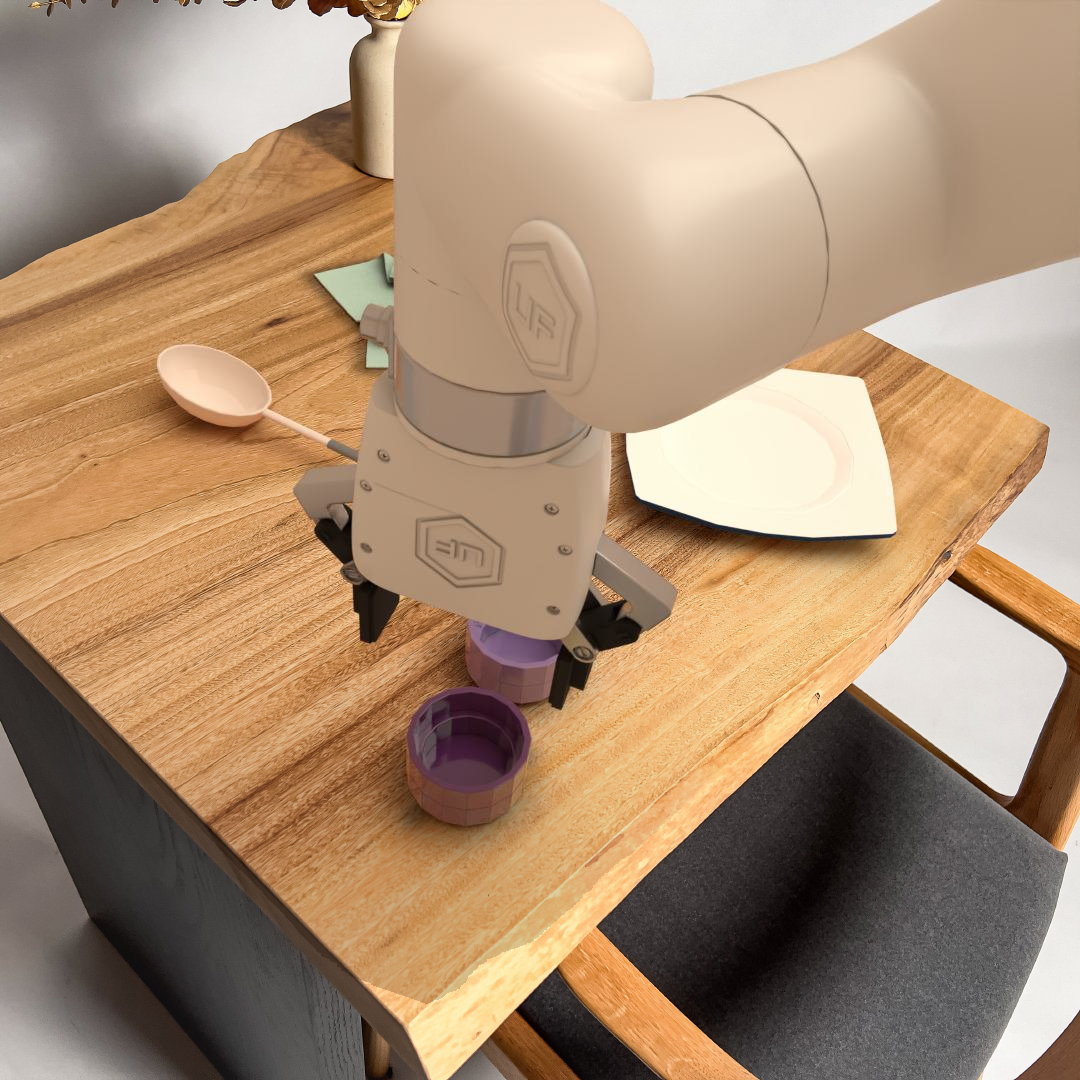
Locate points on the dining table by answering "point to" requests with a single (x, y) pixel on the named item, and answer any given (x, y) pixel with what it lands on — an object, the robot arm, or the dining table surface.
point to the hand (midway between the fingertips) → (470, 653)
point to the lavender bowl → (510, 662)
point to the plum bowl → (467, 755)
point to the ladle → (226, 391)
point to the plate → (773, 462)
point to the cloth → (363, 294)
